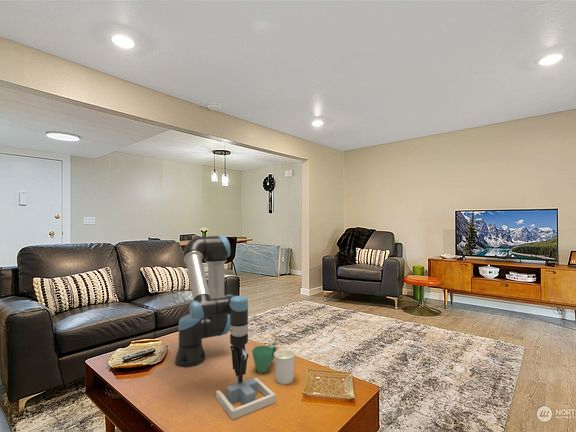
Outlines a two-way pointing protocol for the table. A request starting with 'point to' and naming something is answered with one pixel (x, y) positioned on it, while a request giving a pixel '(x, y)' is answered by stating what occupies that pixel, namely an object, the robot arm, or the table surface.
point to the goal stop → (248, 407)
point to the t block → (242, 391)
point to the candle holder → (284, 366)
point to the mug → (263, 357)
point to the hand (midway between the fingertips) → (239, 388)
